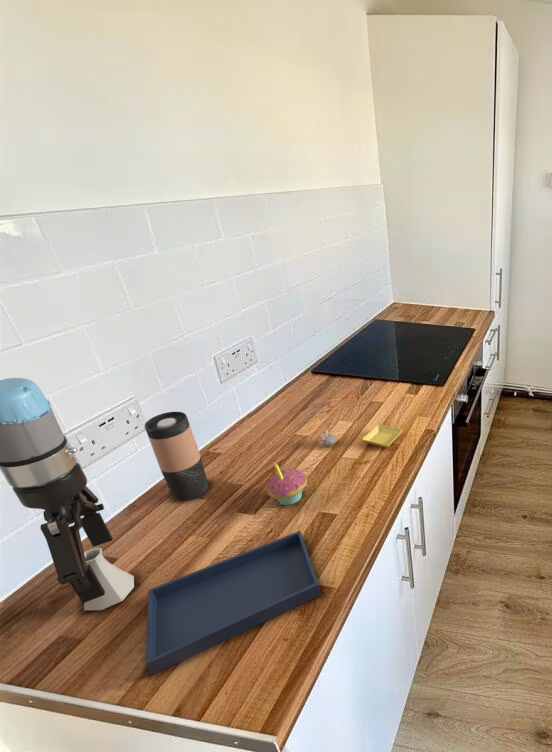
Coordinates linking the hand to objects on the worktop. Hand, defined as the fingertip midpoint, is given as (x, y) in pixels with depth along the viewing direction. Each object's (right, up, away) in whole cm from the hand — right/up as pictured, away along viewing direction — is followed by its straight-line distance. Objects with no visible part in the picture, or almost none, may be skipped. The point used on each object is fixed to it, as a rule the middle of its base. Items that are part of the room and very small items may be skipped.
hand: (98, 568), depth 76 cm
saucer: (+36, +14, +49) cm, 62 cm away
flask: (-1, -6, +3) cm, 7 cm away
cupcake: (+20, +4, +27) cm, 34 cm away
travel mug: (-4, +6, +27) cm, 28 cm away
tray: (+23, -7, +3) cm, 24 cm away
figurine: (+21, +14, +46) cm, 52 cm away
